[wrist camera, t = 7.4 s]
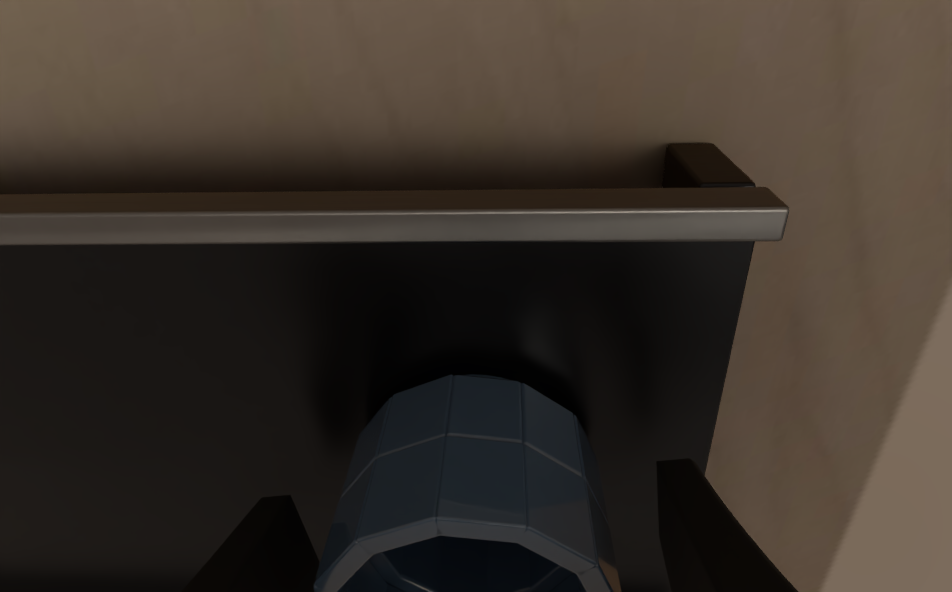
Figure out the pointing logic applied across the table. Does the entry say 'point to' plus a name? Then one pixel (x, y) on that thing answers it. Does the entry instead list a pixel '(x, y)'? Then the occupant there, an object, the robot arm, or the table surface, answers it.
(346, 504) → the cup
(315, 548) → the conveyor belt
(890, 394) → the table surface
